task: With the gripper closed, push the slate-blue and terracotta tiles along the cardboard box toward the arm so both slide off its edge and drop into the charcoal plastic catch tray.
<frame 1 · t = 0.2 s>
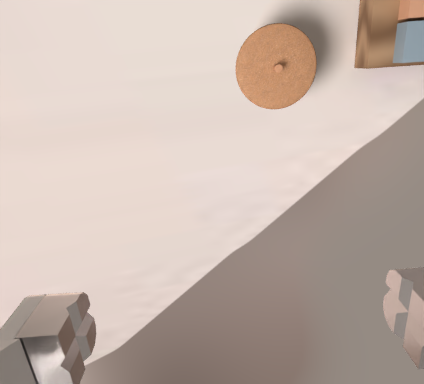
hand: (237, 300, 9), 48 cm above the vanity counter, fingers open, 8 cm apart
tile 2: (413, 42, 46), point 4 cm above the vanity counter, touching cardboard box
cardboard box: (398, 25, 50), on the vanity counter
lidded jar: (266, 67, 52), on the vanity counter
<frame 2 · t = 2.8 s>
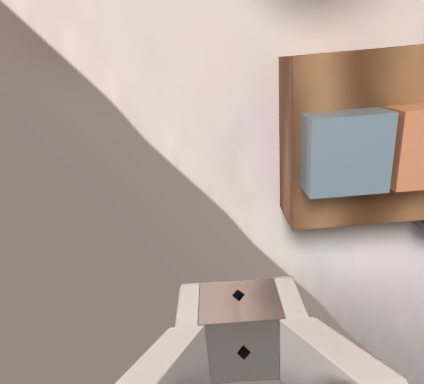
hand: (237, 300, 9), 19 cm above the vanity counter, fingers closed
tile 2: (337, 147, 23), point 4 cm above the vanity counter, touching cardboard box
tile 1: (418, 141, 23), point 4 cm above the vanity counter, touching cardboard box
cardboard box: (348, 131, 27), on the vanity counter
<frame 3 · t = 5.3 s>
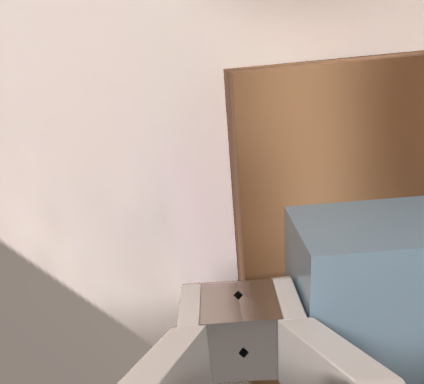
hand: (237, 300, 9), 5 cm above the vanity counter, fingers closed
tile 2: (369, 277, 10), point 5 cm above the vanity counter, touching gripper, cardboard box
cardboard box: (365, 208, 14), on the vanity counter
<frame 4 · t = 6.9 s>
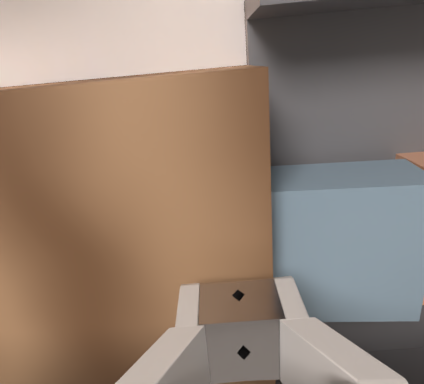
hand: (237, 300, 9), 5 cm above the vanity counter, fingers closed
tile 2: (328, 224, 13), point 1 cm above the vanity counter, tilted 5°
catch tray: (420, 202, 14), on the vanity counter
cardboard box: (124, 227, 14), on the vanity counter
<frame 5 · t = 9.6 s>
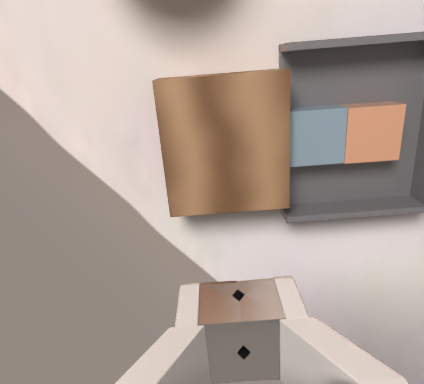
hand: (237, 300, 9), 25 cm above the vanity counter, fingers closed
tile 2: (309, 132, 32), point 1 cm above the vanity counter, touching catch tray
tile 1: (374, 134, 30), point 3 cm above the vanity counter, tilted 180°, touching catch tray
catch tray: (350, 128, 33), on the vanity counter
cardboard box: (223, 138, 33), on the vanity counter
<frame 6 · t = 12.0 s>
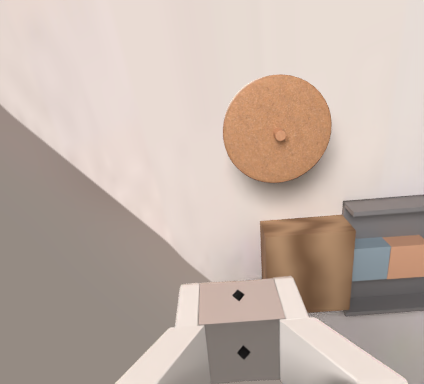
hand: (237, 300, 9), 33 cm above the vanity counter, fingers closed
tile 2: (361, 254, 47), point 1 cm above the vanity counter, touching catch tray
tile 1: (408, 262, 44), point 3 cm above the vanity counter, tilted 180°, touching catch tray
catch tray: (389, 249, 47), on the vanity counter
cardboard box: (300, 256, 47), on the vanity counter
lidded jar: (264, 119, 40), on the vanity counter
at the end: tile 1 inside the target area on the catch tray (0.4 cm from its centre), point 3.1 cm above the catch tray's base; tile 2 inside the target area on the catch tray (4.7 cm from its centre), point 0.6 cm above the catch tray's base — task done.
